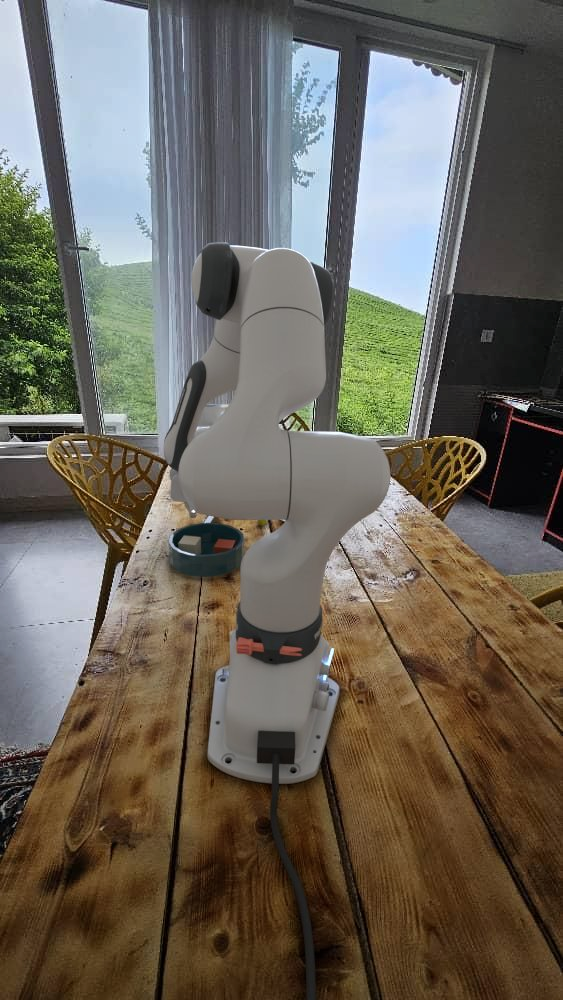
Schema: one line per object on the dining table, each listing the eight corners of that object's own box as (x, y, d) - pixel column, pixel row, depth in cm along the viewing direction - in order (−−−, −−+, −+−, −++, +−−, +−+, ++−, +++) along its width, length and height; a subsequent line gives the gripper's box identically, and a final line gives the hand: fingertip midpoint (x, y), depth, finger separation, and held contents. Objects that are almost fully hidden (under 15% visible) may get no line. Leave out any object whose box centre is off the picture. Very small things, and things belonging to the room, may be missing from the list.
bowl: (234, 582, 93) (234, 559, 91) (158, 574, 95) (157, 552, 93) (250, 546, 108) (250, 526, 106) (184, 540, 110) (183, 519, 108)
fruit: (263, 532, 116) (264, 514, 114) (255, 531, 116) (255, 513, 114) (269, 516, 125) (269, 500, 124) (262, 515, 126) (262, 499, 124)
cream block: (196, 560, 100) (195, 544, 98) (178, 559, 100) (177, 543, 99) (201, 552, 103) (200, 536, 102) (184, 550, 104) (184, 535, 102)
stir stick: (206, 538, 111) (206, 528, 110) (200, 538, 111) (200, 527, 110) (219, 519, 122) (218, 509, 121) (213, 519, 122) (213, 509, 121)
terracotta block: (231, 564, 99) (231, 548, 97) (214, 562, 99) (213, 546, 98) (235, 555, 103) (235, 540, 101) (218, 554, 103) (218, 538, 101)
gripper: (164, 468, 109) (167, 520, 114) (246, 475, 107) (245, 527, 112) (173, 461, 115) (176, 510, 120) (251, 467, 113) (250, 517, 118)
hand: (210, 518), depth 116 cm, fingers open, 8 cm apart
